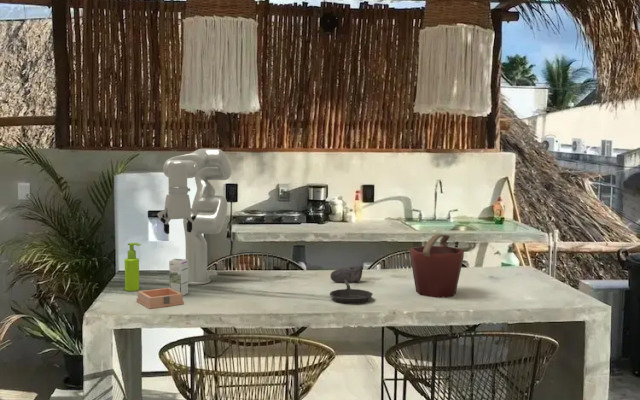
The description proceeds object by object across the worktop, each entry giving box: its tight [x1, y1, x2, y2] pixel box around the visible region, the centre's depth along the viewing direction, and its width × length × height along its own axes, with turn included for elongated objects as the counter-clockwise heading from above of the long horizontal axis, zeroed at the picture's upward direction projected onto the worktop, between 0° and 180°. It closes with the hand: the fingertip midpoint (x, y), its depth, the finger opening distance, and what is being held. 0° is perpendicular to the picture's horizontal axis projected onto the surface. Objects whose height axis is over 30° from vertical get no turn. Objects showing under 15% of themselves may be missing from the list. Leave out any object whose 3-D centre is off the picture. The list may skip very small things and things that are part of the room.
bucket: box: [409, 233, 465, 298], centre depth 292 cm, size 24×22×25 cm
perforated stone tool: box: [330, 266, 363, 284], centre depth 313 cm, size 15×5×7 cm, turn 95°
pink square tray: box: [136, 287, 185, 309], centre depth 271 cm, size 14×14×4 cm
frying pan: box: [329, 279, 374, 305], centre depth 287 cm, size 18×32×4 cm, turn 4°
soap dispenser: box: [124, 242, 142, 292], centre depth 293 cm, size 6×7×20 cm
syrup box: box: [168, 258, 189, 296], centre depth 285 cm, size 6×6×14 cm
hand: (178, 232), depth 284 cm, fingers open, 9 cm apart
